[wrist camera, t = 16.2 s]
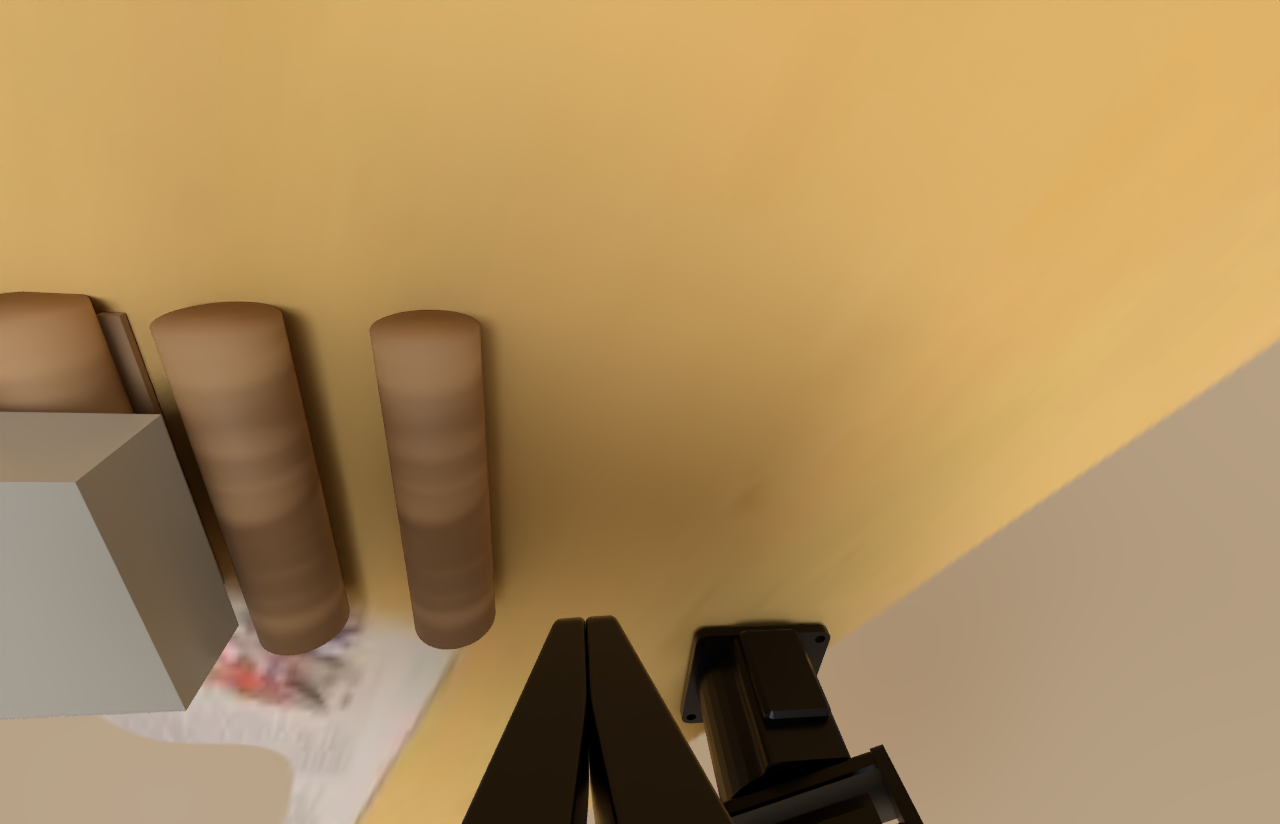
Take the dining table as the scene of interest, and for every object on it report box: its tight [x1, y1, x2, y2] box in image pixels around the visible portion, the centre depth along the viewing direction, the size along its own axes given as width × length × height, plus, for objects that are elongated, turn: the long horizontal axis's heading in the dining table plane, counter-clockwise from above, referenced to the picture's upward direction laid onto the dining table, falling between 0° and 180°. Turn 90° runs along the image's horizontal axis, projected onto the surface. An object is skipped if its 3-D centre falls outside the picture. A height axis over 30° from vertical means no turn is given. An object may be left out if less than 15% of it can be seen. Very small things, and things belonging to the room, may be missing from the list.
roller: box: [0, 292, 134, 414], centre depth 18 cm, size 12×3×3 cm
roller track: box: [96, 302, 495, 655], centre depth 18 cm, size 12×17×3 cm
